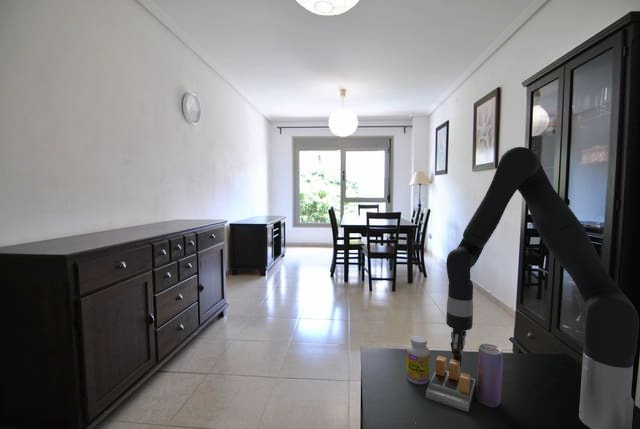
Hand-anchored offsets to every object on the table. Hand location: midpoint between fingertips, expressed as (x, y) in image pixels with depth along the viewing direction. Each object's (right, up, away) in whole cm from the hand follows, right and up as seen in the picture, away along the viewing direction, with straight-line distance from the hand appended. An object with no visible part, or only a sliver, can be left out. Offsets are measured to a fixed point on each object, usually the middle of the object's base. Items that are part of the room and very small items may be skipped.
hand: (457, 364), depth 102 cm
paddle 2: (-3, -1, -5) cm, 6 cm away
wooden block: (-6, -1, -3) cm, 7 cm away
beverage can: (+3, -4, -12) cm, 14 cm away
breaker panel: (-5, -4, -8) cm, 11 cm away
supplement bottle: (-13, -4, -2) cm, 14 cm away
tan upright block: (-3, -2, -12) cm, 13 cm away
